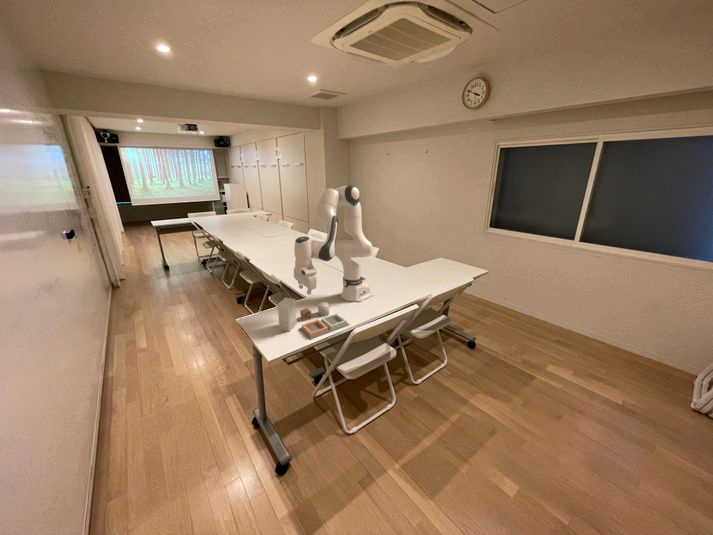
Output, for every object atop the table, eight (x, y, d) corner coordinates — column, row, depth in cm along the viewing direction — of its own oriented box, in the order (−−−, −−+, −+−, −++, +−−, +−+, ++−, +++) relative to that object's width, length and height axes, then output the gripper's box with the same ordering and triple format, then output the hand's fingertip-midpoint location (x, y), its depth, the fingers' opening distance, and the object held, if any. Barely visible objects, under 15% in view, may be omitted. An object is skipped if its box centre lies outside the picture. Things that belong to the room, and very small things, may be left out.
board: (337, 316, 159) (337, 312, 159) (349, 325, 150) (349, 320, 150) (299, 328, 146) (299, 324, 145) (310, 339, 137) (309, 335, 136)
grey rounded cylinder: (325, 310, 166) (325, 301, 164) (331, 314, 161) (331, 305, 159) (316, 313, 162) (316, 303, 160) (321, 317, 158) (321, 308, 156)
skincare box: (287, 322, 152) (285, 296, 147) (297, 324, 150) (296, 298, 145) (278, 330, 144) (276, 303, 139) (290, 332, 143) (288, 305, 137)
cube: (307, 315, 159) (307, 308, 158) (311, 318, 156) (311, 311, 154) (300, 317, 157) (300, 310, 155) (304, 321, 153) (303, 313, 152)
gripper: (290, 263, 152) (291, 286, 156) (307, 274, 136) (308, 299, 141) (300, 261, 155) (301, 283, 160) (318, 271, 140) (319, 296, 145)
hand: (305, 291), depth 150 cm, fingers open, 8 cm apart
